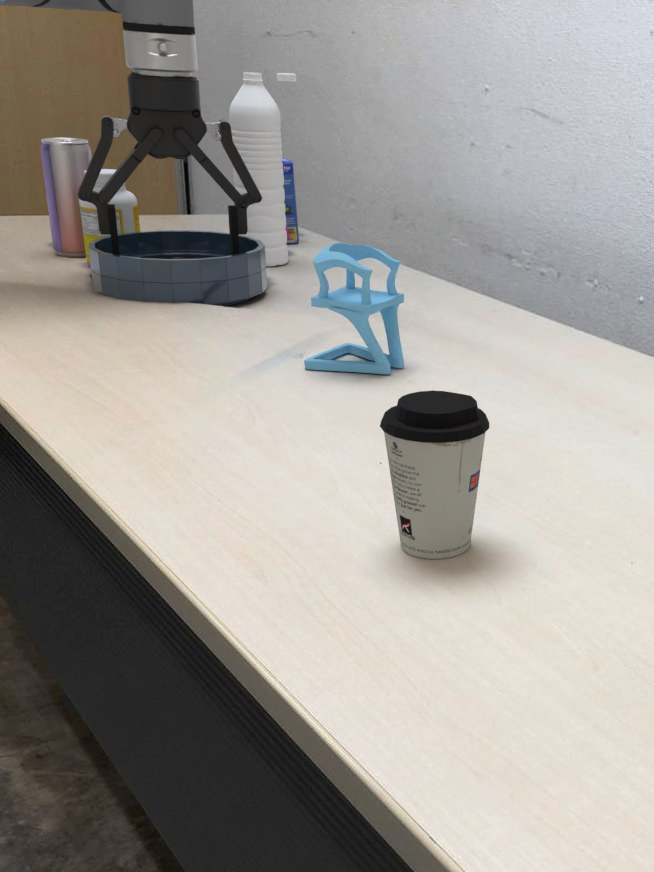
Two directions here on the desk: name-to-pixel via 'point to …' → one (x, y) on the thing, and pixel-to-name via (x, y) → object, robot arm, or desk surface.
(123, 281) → the bowl
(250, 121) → the water bottle
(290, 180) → the ink cartridge box
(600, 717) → the desk surface
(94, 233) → the supplement bottle
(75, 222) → the beverage can
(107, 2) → the robot arm
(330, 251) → the chair
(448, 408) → the coffee cup
